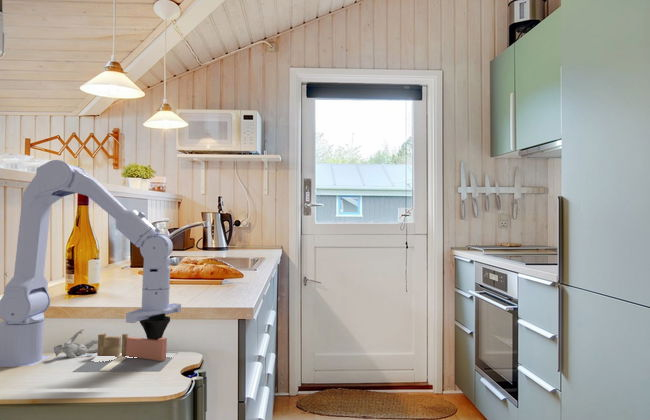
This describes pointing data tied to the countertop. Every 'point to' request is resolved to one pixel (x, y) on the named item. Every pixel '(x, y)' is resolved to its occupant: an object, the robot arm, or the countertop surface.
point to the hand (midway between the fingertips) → (153, 349)
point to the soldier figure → (76, 347)
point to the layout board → (124, 365)
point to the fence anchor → (111, 345)
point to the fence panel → (146, 348)
